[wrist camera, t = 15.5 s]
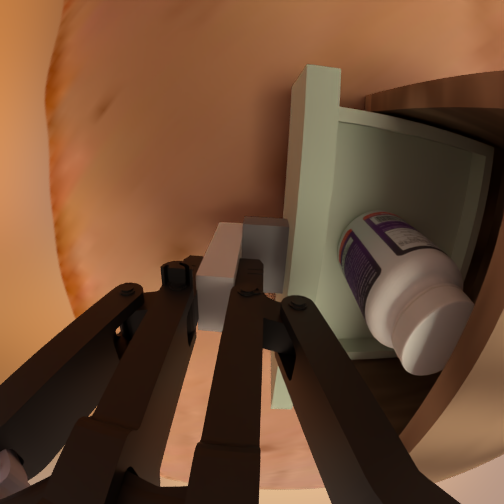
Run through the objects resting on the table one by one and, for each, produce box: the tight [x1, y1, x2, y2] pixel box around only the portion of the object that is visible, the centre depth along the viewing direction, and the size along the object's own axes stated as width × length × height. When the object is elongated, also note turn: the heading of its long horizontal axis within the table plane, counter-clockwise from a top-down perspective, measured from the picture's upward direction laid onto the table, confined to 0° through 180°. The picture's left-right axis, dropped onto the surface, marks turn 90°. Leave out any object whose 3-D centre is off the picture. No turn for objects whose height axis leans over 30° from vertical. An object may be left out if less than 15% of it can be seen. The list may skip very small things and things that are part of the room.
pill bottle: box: [338, 210, 475, 376], centre depth 14 cm, size 5×5×10 cm
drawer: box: [242, 64, 494, 409], centre depth 17 cm, size 20×16×7 cm
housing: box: [352, 71, 504, 483], centre depth 14 cm, size 20×14×15 cm
